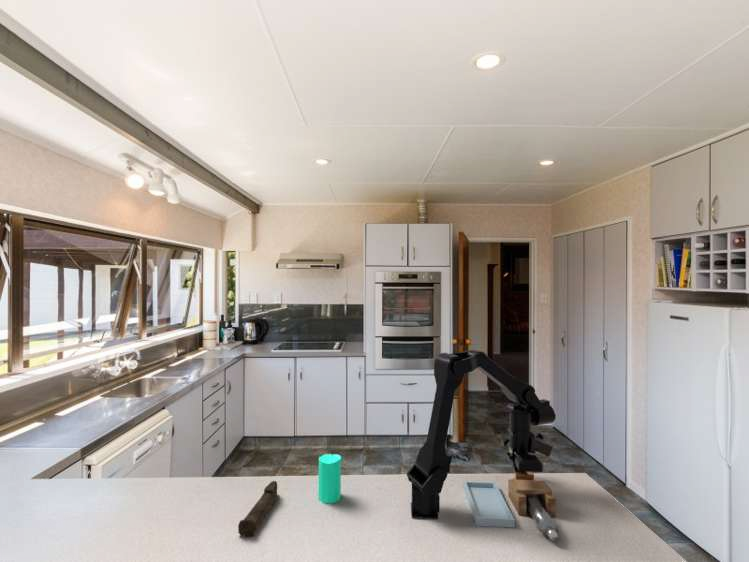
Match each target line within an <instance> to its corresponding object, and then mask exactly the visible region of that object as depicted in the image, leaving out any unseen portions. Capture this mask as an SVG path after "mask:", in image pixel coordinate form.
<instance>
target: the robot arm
mask: <svg viewBox="0 0 749 562" xmlns="http://www.w3.org/2000/svg"><path fill="white" fill-rule="evenodd" d="M433 363H434V364H433V366H434V367H433V375H434V380H435V384H436V389H435V394H434V398H433V399H434V400H433V404H432V409H431V414H430V421H429V425H428V432H427V436H426V441H425V442H424V443H423V445H422V446H421V448H419V451H418V454H417V457H416V459H415V462H414V463H413V465H412V466H411V468H410V469H409V470H408V471H407V473H406V477H407V480H408V482H410V483H411V502H410V511H411V512H410V513H411V518H412V519H425V520H426V519H429V520H433V519H434V520H438V519H439V513H440V510H441V508H440V507H441V506H440V501H441V499H440V497H441V496H440V494H441V493H442V490H443V486H444V483H445V481H446V479H447V477H448V474H451V463H452V461H453V460H452V459H453V457H452V455H451V454H449V453H448V452H447V449H446V444H447V438H448V433H449V427H450V422H451V415H452V410H453V404H454V400H455V394H456V391H457V389H458V388H459V387H460V385H461V384H462V383H463V381H464V378H465V375H466V374H467V373H471V372H473V371H475V370H476V369H477V370H479V371H480V372H481V373H482V374H484V375H485V376H486V377H487V378H489V379H490V380H492V381H493V382H494V383H495V384H496V385H498V386H499V387H500V388H501V389H500V390H501V392H502V393H503V394H504V395H505V397H506V398H507V399H508V400H510V401H512V402H515V403H518V404H515V403H512V402H508V404H507V405H506V406H504V408H503V411H504V412H507V413H509V427H507V432H508V434H509V435H507V434H505V435H503V436H501V437H500V445H501V446H502V448H506V446H507V447H508V449H509V451H508V452H506V455H507V458H508V461H509V463H510V465H511V468H512V471H513V473H514V474H515V472H531V473H543V472H544V463H543V462H542V461H541V460H540V459H539V458H538V457H537V456H536V452H537V453H540V454H542V455H544V456H545V457H548V458H550V457H551V455H552V452H553V449H554V445H553V444H552V443H551V442H550V441H548V440H547V439H546V438H544V435H543V434H542V432H539V431H535V432H534V433H533V432H532V426H535V427H536V426H544V425H549V424H552V423H553V424H554V422H555V420H556V413H555V410H554V408H553V407H552V405H551V403H550V402H551V401H550V400H548V399H545V398H544V399H539V396H537V394H536V389H535V387H534V386H533V385H532V384H530V383H527V382H525V381H524V380H523V381H522V380H520V379H518V378H516V377H514V376H512V375H511V374H510V373H509V372H508V371H506V370H505V369H504V368H502V367H501V366H500V364H498V363H496V362H495V361H494V360H492V359H491V358H490V357H489V356H488V355H487V354H486V353H485V352H484V351H481V350H477V349H470V350H465V351H460V352H452V353H448V352H442V353H439V354H438V355H437V356H436V357H435V359H434V362H433Z"/></svg>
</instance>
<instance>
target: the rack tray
mask: <svg viewBox="0 0 749 562" xmlns="http://www.w3.org/2000/svg"><path fill="white" fill-rule="evenodd" d="M462 487H463V490H464V493H465V497H466V500H467V502H468V506H469V509H470V511H471V514H472V518H473V520H474V524H475V526H480V527H495V528H496V527H498V528H499V527H500V528H502V527H503V528H515V527H516V520H515V518H514V516H513V514H512V512H511V510H510V508H509V506H508V504H507V503H506V500H505V499H504V497H503V495H502V492H501V491H500V488H499V487H498V485H497V483H496V481H479V480H477V481H473V480H463V481H462Z"/></svg>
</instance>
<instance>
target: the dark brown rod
mask: <svg viewBox="0 0 749 562" xmlns="http://www.w3.org/2000/svg"><path fill="white" fill-rule="evenodd" d="M277 495H278V481H276V480H273V481H271V482H269V483H268V485H266V486H265V488H264V489H263V493H262V496H261V497H260V498H259V499H258V501H257V502H256V503H255V504H254V505H253V507H252V508H251V510H249V512H248V513H247V515H246V516H245V517H244V519H241V520H240V521H239V523H238V530H237V531H238V532H237V533H238V534H239V536H240V537H245V538H251V537H253V536H254V535H255V533H256V532H257V529H258V526H259V524H260V523H261V522H262V520H263V518H265V516H266V514H267V513H268V511H269V509H270V508H271V507H273V506H274V505H275V503H276V500H277Z"/></svg>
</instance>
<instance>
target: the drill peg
mask: <svg viewBox="0 0 749 562" xmlns="http://www.w3.org/2000/svg"><path fill="white" fill-rule="evenodd" d="M526 510H527V511H528V512H529V514H530V516H531V517H532V520H534V523H535V524H536V527H538V529H539V530H540V532H541V534H542V536H543V537H544V538H546V539H549V540H550V542H552V543H557V542H558V541H559V539H560V536H559V528H558V527H557V525H556V524H555V522H554V521H553V519H552V517H550V516H549V515H548V513H547V512H546V510H545V509H544V507H543V506H542V504H541V503H540V501H539V500H538V499H537V498H534V497H532V498H529V499H528V500H527V502H526Z"/></svg>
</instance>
